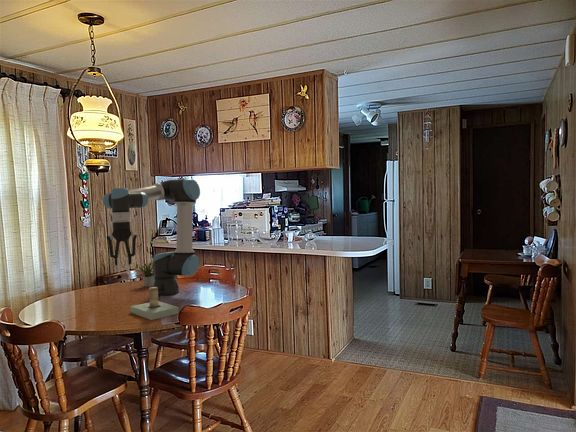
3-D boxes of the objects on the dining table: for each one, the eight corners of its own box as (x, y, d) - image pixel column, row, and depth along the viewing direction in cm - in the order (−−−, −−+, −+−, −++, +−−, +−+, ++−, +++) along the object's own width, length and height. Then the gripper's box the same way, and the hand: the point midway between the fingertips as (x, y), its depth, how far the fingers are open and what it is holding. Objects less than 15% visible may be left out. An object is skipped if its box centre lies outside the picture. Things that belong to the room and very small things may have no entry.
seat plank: (130, 312, 211) (130, 306, 211) (157, 306, 221) (157, 300, 221) (151, 320, 197) (150, 313, 197) (178, 313, 207) (178, 307, 207)
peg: (148, 313, 209) (147, 288, 208) (156, 311, 212) (155, 286, 211) (152, 314, 206) (151, 289, 205) (160, 312, 209) (159, 287, 208)
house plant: (159, 282, 285) (158, 257, 284) (165, 285, 273) (164, 259, 272) (136, 285, 278) (135, 259, 277) (141, 288, 266) (140, 261, 265)
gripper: (100, 222, 199) (103, 274, 200) (139, 221, 202) (141, 271, 203) (103, 221, 206) (106, 271, 207) (140, 220, 210) (142, 269, 211)
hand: (123, 271), depth 205 cm, fingers open, 3 cm apart
